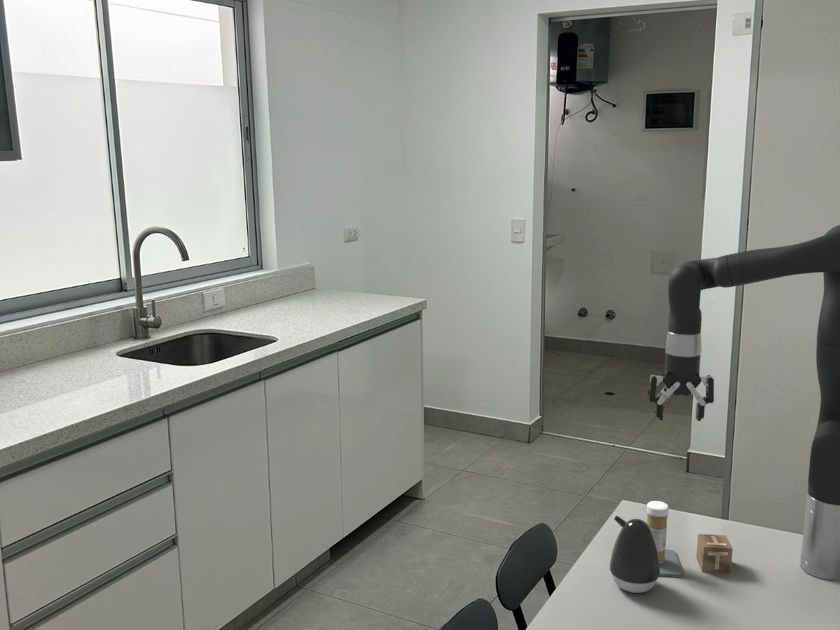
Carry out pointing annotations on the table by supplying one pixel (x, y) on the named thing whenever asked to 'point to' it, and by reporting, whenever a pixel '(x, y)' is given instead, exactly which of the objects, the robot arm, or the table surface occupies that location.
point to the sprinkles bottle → (658, 525)
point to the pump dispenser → (635, 557)
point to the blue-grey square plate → (671, 565)
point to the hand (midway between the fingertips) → (679, 419)
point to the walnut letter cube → (714, 553)
